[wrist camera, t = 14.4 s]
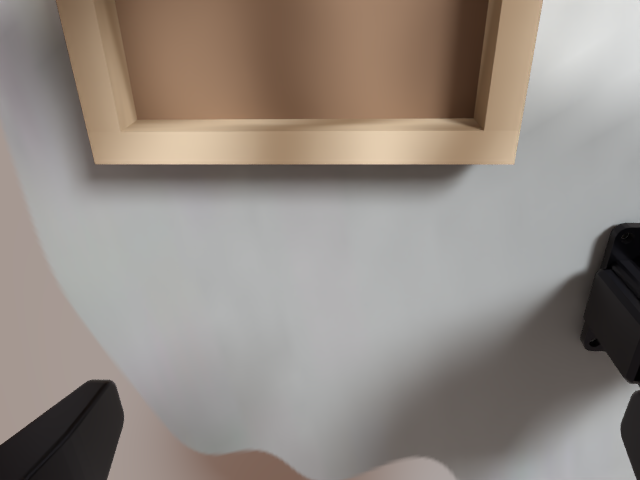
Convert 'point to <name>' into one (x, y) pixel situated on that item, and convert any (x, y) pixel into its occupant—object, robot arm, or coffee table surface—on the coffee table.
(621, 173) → the coffee table surface
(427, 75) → the keyhole board
